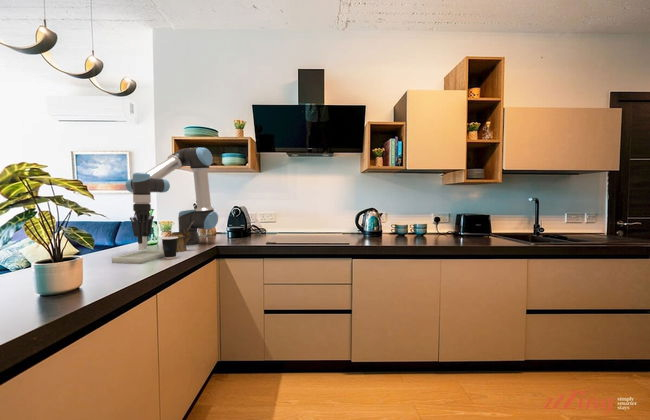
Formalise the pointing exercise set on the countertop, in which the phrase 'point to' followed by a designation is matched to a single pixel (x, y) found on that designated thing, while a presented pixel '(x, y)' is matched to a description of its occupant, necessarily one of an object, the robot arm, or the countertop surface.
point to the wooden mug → (182, 239)
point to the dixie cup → (169, 247)
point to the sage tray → (139, 257)
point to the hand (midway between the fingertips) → (143, 249)
